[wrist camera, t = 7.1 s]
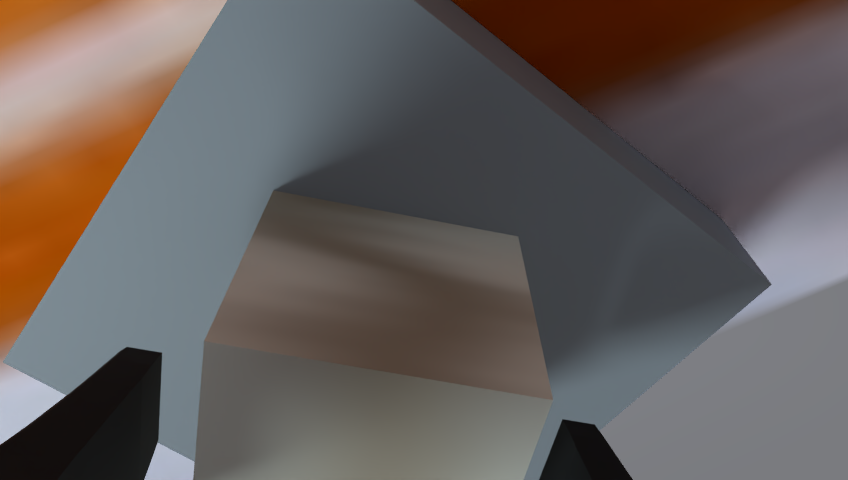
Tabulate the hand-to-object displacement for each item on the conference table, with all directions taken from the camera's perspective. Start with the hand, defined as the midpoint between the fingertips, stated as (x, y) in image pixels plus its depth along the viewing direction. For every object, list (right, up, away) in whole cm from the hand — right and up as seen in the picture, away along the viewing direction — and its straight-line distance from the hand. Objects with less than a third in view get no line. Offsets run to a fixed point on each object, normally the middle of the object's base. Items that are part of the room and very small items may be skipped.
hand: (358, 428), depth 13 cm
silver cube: (0, +2, +3) cm, 3 cm away
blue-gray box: (0, +3, +5) cm, 6 cm away
